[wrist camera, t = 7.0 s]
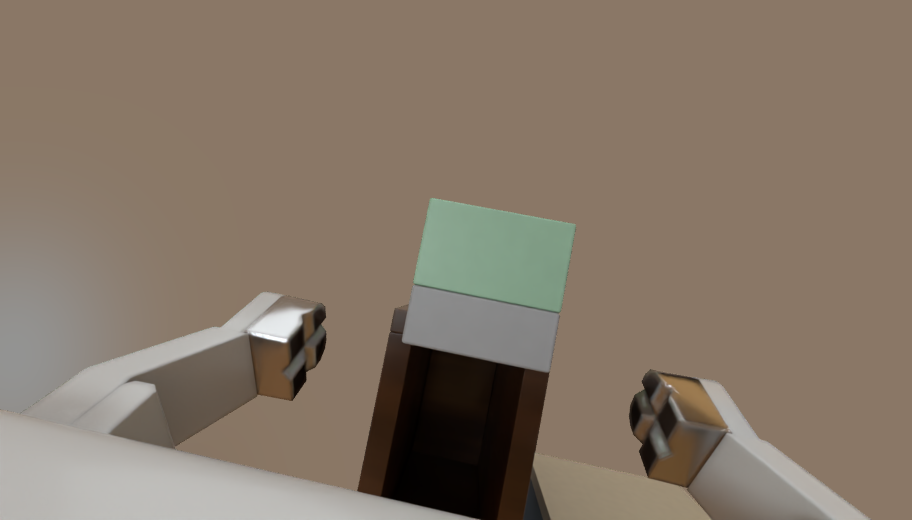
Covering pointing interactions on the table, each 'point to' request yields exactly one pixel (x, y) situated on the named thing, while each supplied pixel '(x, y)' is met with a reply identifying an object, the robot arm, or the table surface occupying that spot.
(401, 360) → the shelf
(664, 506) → the archive box
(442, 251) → the green box
